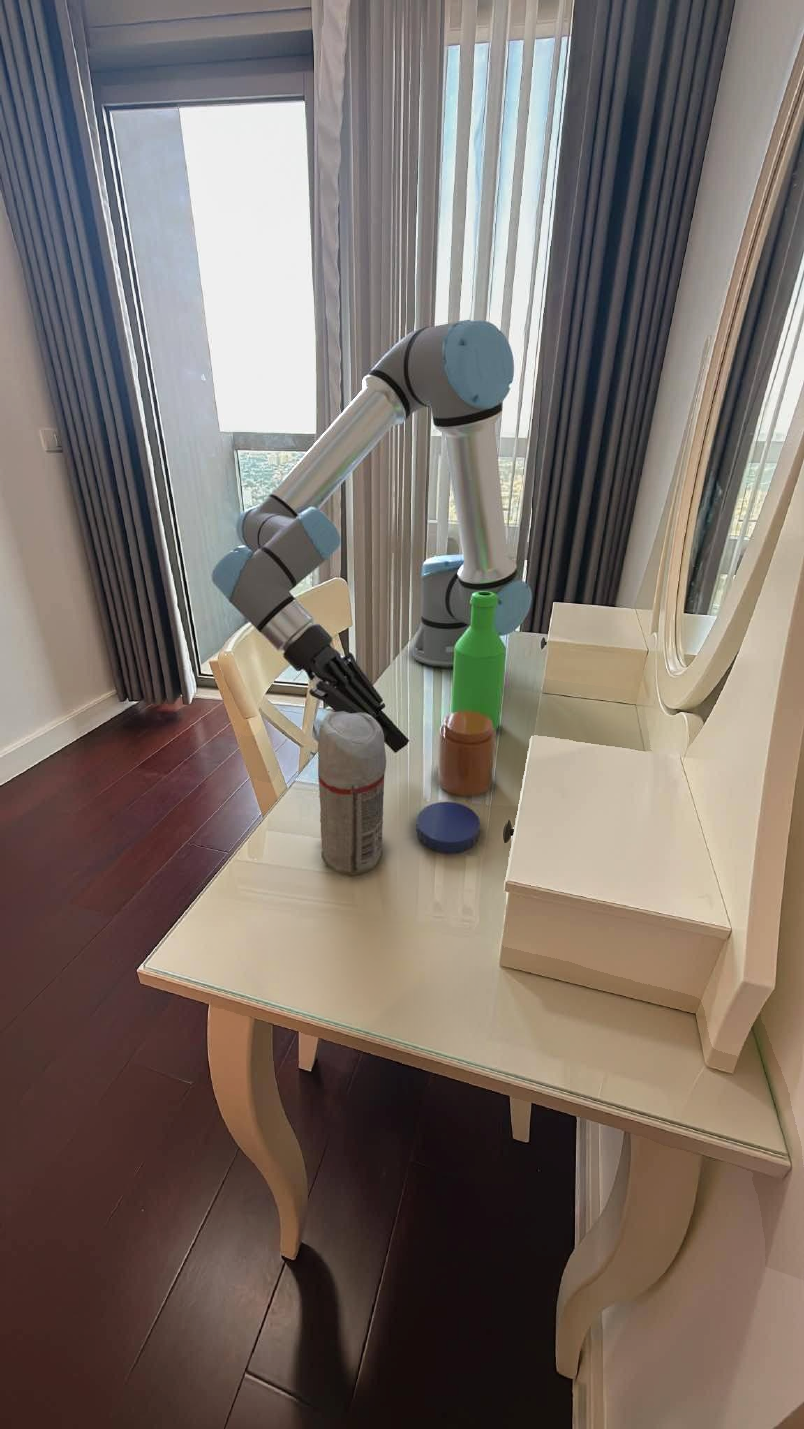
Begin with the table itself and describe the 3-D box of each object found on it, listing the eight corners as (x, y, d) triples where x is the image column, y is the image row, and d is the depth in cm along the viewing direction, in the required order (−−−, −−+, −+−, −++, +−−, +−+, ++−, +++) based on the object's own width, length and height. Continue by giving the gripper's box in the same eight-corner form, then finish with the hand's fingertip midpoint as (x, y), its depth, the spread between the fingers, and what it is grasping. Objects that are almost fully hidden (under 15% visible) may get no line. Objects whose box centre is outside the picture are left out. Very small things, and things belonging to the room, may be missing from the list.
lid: (457, 863, 73) (458, 851, 72) (403, 835, 78) (403, 824, 77) (490, 827, 79) (491, 817, 78) (439, 804, 84) (439, 794, 83)
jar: (446, 761, 94) (448, 705, 89) (496, 771, 91) (501, 714, 86) (430, 789, 87) (433, 730, 82) (484, 801, 84) (490, 741, 79)
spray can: (357, 824, 80) (351, 698, 70) (397, 853, 75) (398, 721, 65) (308, 853, 74) (295, 721, 65) (348, 886, 69) (340, 749, 60)
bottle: (497, 716, 107) (510, 587, 95) (499, 739, 100) (514, 602, 88) (450, 713, 108) (457, 585, 96) (449, 737, 101) (457, 600, 88)
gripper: (302, 637, 94) (398, 738, 98) (263, 667, 83) (373, 780, 87) (330, 609, 90) (428, 715, 94) (293, 637, 79) (406, 756, 83)
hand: (402, 746), depth 90 cm, fingers closed
